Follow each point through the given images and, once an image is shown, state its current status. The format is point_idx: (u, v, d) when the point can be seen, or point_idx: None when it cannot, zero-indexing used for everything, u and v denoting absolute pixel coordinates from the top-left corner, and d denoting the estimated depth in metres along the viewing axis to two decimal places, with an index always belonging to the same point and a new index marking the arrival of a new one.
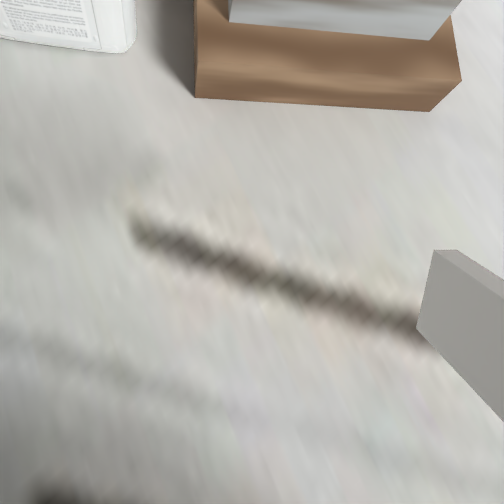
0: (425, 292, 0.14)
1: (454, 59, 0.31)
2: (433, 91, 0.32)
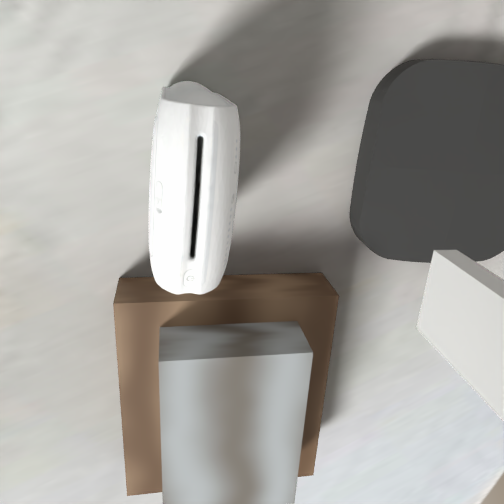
0: (425, 292, 0.14)
1: (147, 491, 0.37)
2: None
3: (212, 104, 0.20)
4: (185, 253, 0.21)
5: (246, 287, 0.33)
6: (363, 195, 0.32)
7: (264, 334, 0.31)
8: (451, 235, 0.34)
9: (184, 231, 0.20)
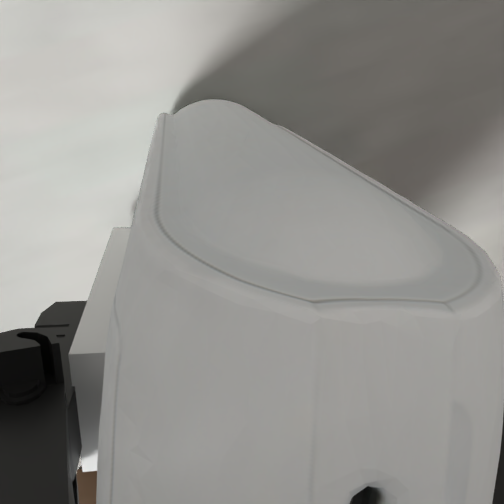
0: None
1: None
2: None
3: (409, 271, 0.04)
4: None
5: None
6: None
7: None
8: None
9: None
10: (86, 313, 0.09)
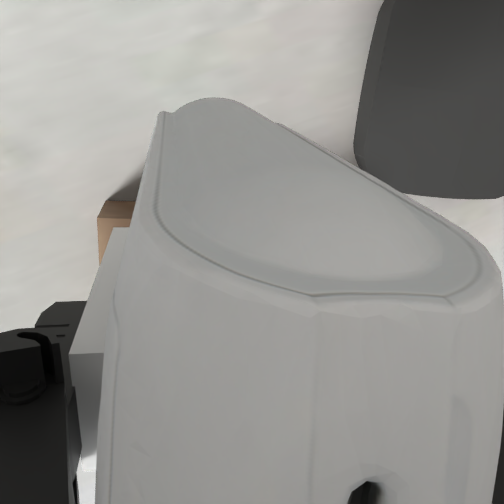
0: None
1: None
2: None
3: (409, 266, 0.04)
4: None
5: None
6: (369, 117, 0.30)
7: None
8: (461, 167, 0.32)
9: None
10: (86, 313, 0.09)
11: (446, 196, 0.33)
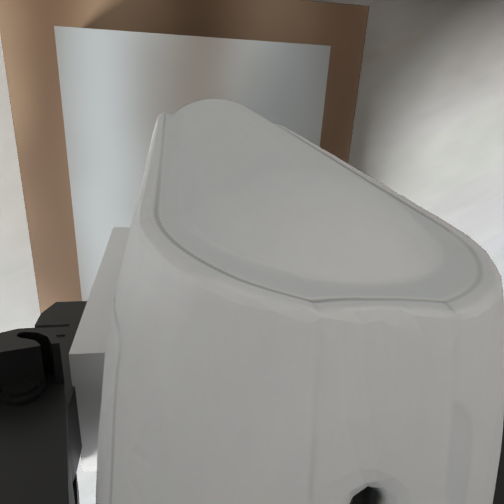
0: None
1: None
2: None
3: (409, 271, 0.04)
4: None
5: None
6: None
7: None
8: None
9: None
10: (86, 313, 0.09)
11: None
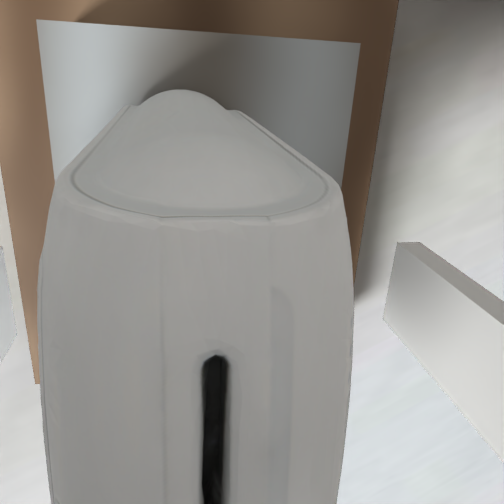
0: (390, 283, 0.14)
1: None
2: None
3: (257, 200, 0.05)
4: None
5: None
6: None
7: None
8: None
9: None
10: None
11: None
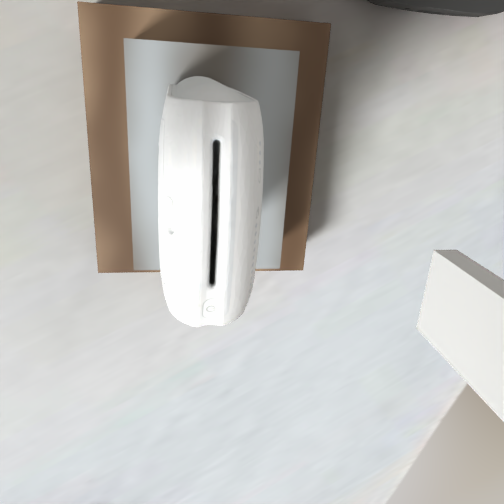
0: (425, 292, 0.14)
1: (120, 269, 0.34)
2: None
3: (229, 100, 0.16)
4: (203, 281, 0.17)
5: None
6: None
7: None
8: None
9: (202, 255, 0.17)
10: None
11: (442, 7, 0.32)
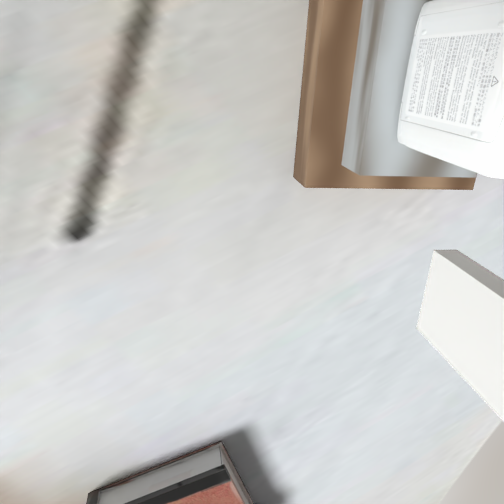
0: (425, 292, 0.14)
1: (324, 184, 0.38)
2: (302, 169, 0.39)
3: None
4: None
5: None
6: None
7: None
8: None
9: None
10: None
11: None
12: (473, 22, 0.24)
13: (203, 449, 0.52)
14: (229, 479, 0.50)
